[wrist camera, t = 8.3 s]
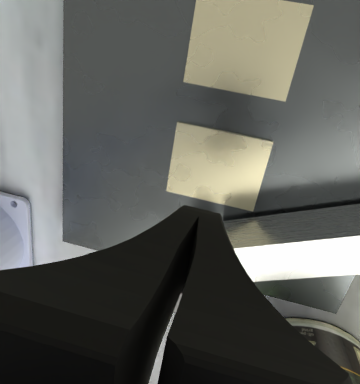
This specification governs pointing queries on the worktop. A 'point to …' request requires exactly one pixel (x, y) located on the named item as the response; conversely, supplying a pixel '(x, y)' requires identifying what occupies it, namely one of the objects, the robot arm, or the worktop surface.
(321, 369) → the robot arm
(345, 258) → the swing bar
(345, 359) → the coffee can
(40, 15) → the worktop surface
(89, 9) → the chassis tray
